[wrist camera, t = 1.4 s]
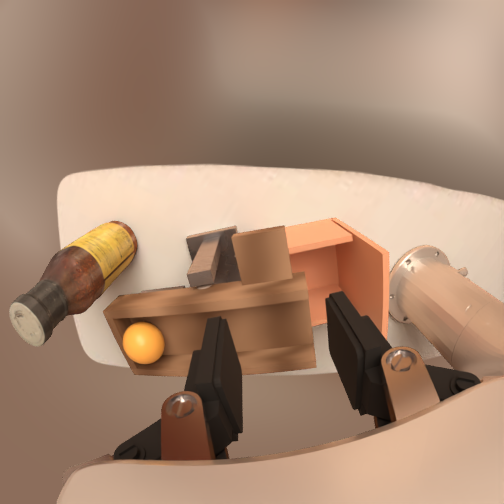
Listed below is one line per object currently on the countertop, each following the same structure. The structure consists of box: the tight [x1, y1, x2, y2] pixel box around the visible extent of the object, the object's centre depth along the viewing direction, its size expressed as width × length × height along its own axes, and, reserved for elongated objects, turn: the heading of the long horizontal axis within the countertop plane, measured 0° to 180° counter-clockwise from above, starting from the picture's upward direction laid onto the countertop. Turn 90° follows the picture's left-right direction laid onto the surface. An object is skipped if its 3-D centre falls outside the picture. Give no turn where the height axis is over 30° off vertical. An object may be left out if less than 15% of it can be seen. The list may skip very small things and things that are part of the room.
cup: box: [285, 218, 389, 340], centre depth 28 cm, size 9×9×14 cm
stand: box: [186, 226, 241, 287], centre depth 30 cm, size 6×12×12 cm, turn 12°
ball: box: [123, 322, 165, 364], centre depth 23 cm, size 4×4×4 cm
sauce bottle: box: [9, 221, 137, 346], centre depth 24 cm, size 7×6×20 cm
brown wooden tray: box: [103, 226, 316, 376], centre depth 24 cm, size 18×12×6 cm, turn 101°
